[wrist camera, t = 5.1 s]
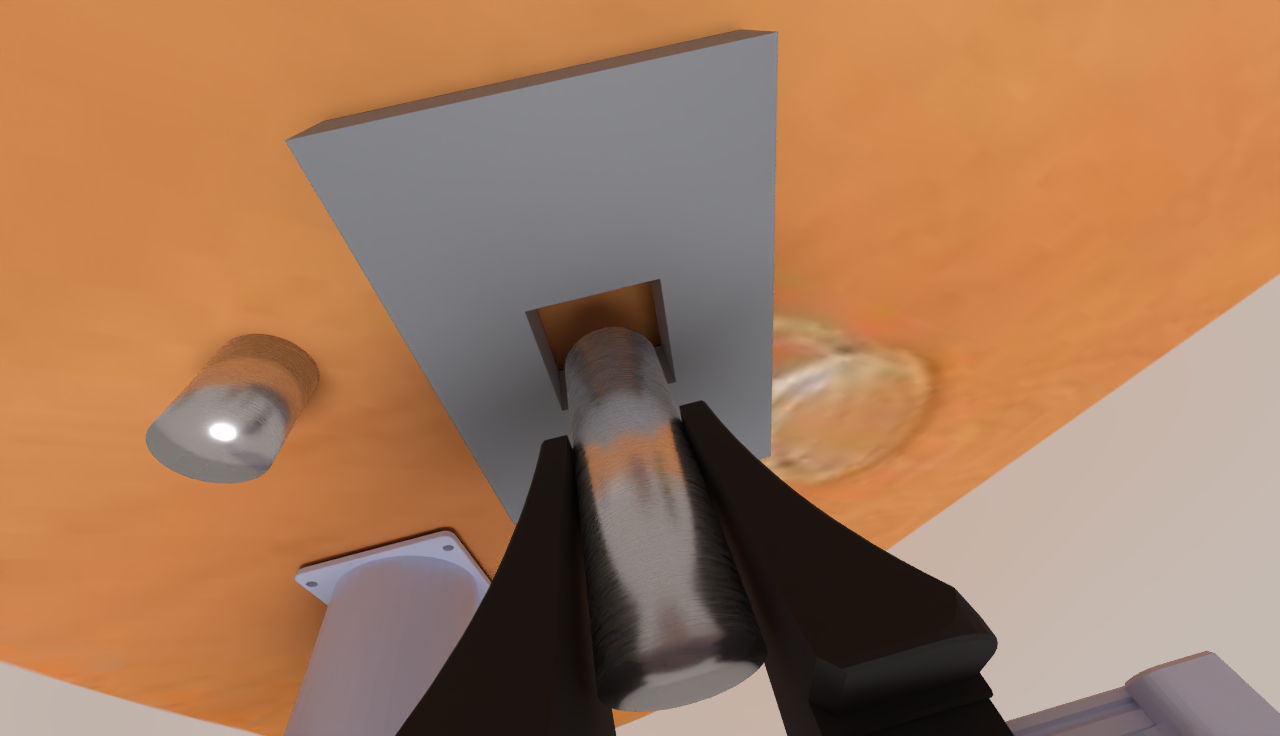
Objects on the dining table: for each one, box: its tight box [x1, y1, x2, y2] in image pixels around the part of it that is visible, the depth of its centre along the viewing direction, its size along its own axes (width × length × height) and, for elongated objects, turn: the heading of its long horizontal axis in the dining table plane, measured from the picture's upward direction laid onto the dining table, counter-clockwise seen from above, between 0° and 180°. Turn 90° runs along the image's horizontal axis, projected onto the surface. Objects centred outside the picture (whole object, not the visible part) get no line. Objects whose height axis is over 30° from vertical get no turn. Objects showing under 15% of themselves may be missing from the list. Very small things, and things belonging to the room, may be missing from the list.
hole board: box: [285, 30, 778, 524], centre depth 17 cm, size 16×12×2 cm
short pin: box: [146, 334, 319, 483], centre depth 15 cm, size 3×3×4 cm
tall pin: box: [565, 327, 767, 712], centre depth 11 cm, size 3×3×9 cm
